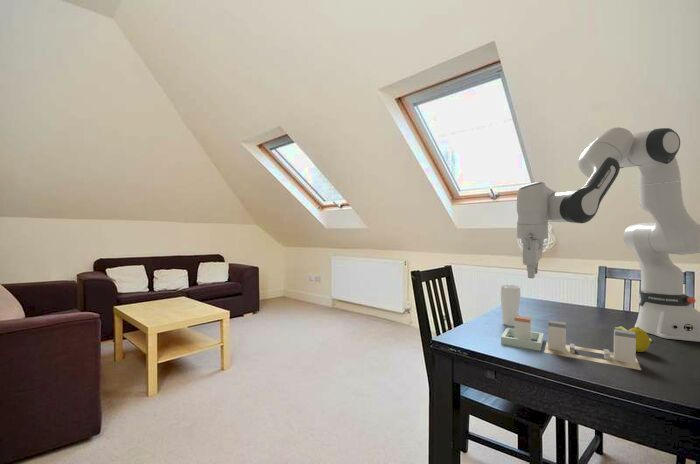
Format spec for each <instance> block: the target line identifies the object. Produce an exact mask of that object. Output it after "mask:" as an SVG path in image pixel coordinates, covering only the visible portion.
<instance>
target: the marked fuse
mask: <svg viewBox="0 0 700 464" xmlns="http://www.w3.org/2000/svg"><path fill="white" fill-rule="evenodd" d="M513 329H514V336H513V338H518V339H524V340H530V341H532V339H531V331H532V317H531V316H530V317H528V316H522V315H519V316H515V319H514V326H513Z"/></svg>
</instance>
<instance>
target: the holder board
mask: <svg viewBox="0 0 700 464" xmlns="http://www.w3.org/2000/svg"><path fill="white" fill-rule="evenodd" d="M575 350H576V351H583V352H589V353H594V354H601V355H604V350H601V349H595V348H589V347H583V346H577V345H575ZM609 352H610V360H605V359H602V358H596V357H591V356H586V355H579V354H576V353H575V354H572V353H570V344H566V352H564V351H558V350H553V349H548V341H546V343H545V348H544V351H543V353H545V354H551V355H556V356H560V357H561V356H562V357H568V358H572V359H578V360H583V361H588V362H594V363H599V364H605V365H610V366H617V367H622V368H628V369H634V370H638V371H642V368H641V365H640V363H639V361H638V359H637V358H636V362H635V364H633V363H627V362H621V361H615V360H614V357H613V356H614V351H609Z"/></svg>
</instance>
